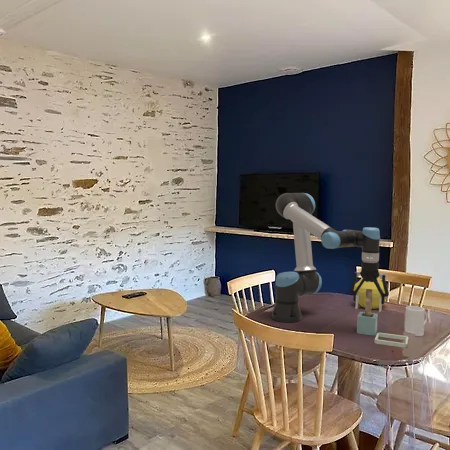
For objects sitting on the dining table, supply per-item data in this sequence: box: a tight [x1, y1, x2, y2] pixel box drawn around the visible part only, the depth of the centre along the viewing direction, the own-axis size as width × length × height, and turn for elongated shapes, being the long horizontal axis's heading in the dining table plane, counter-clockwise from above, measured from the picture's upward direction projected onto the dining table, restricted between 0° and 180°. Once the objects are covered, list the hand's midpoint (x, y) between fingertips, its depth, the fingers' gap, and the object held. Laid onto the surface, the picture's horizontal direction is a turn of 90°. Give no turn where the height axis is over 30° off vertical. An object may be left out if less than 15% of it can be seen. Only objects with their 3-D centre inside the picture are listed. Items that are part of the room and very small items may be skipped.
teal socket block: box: [356, 311, 379, 337], centre depth 212 cm, size 8×8×9 cm
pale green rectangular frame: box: [374, 331, 409, 349], centre depth 200 cm, size 13×11×3 cm
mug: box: [404, 305, 428, 337], centre depth 214 cm, size 12×8×12 cm
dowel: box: [364, 289, 373, 317], centre depth 211 cm, size 3×3×20 cm
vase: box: [353, 276, 388, 310], centre depth 260 cm, size 18×18×30 cm
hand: (368, 309), depth 211 cm, fingers open, 10 cm apart
